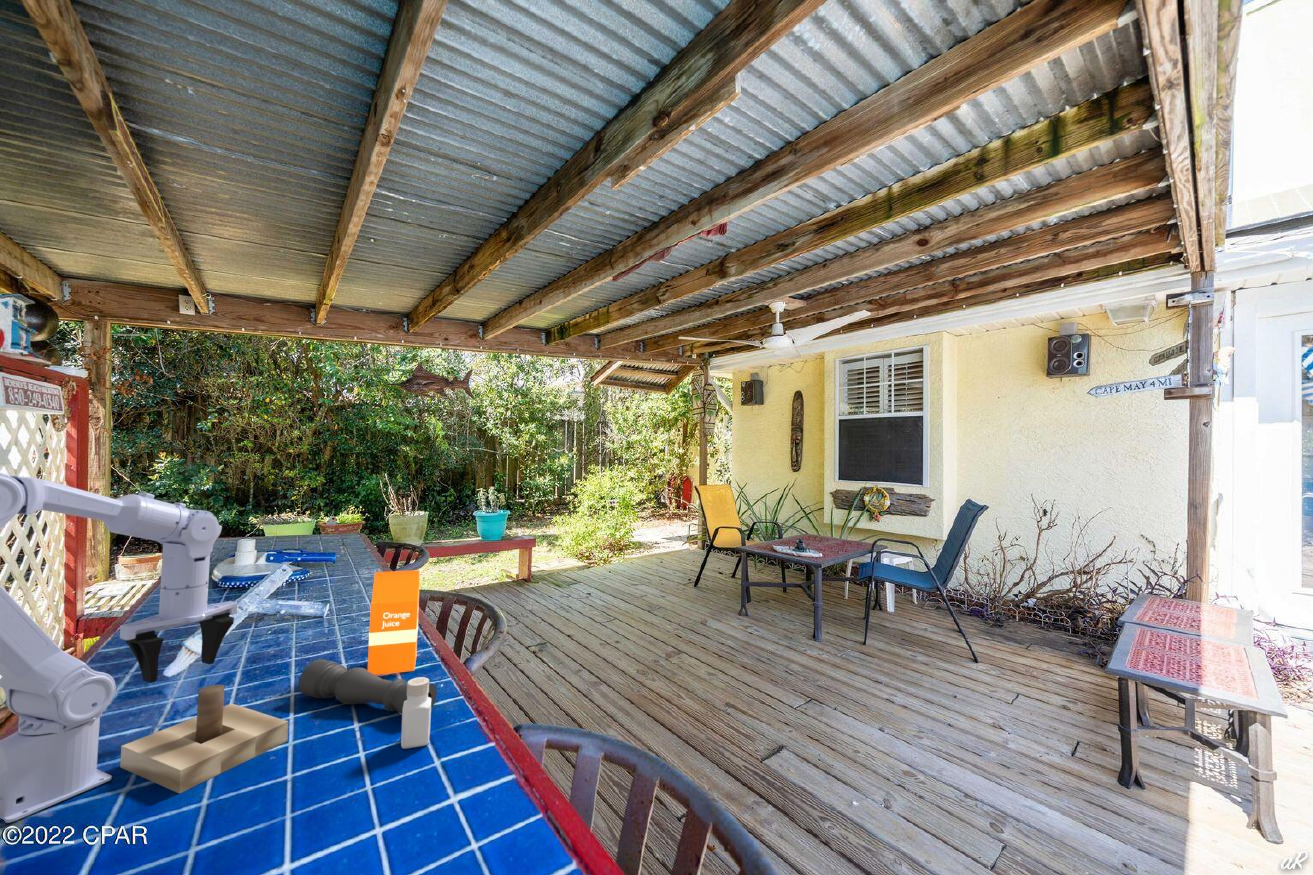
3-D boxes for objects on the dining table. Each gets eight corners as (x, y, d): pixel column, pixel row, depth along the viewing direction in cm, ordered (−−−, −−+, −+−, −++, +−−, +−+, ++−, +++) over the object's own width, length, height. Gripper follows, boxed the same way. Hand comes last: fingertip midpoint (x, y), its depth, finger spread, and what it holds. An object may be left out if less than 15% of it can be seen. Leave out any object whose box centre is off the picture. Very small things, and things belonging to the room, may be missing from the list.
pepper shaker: (402, 737, 85) (405, 677, 85) (429, 733, 86) (432, 674, 86) (400, 750, 81) (403, 688, 81) (428, 746, 82) (431, 684, 82)
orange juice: (414, 670, 110) (419, 574, 110) (366, 676, 107) (371, 576, 107) (416, 656, 117) (420, 566, 118) (371, 661, 114) (376, 568, 114)
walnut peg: (202, 761, 77) (206, 695, 77) (189, 756, 78) (193, 691, 78) (225, 750, 79) (229, 686, 80) (213, 746, 80) (216, 683, 81)
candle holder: (303, 661, 96) (416, 685, 89) (331, 656, 102) (440, 678, 95) (294, 698, 95) (409, 725, 88) (324, 691, 100) (434, 715, 93)
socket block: (179, 793, 69) (180, 770, 70) (120, 767, 75) (121, 745, 75) (287, 740, 82) (288, 721, 83) (230, 721, 88) (231, 703, 88)
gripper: (141, 599, 76) (135, 695, 75) (250, 578, 89) (246, 659, 89) (114, 593, 78) (108, 685, 78) (224, 573, 92) (219, 652, 91)
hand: (180, 671), depth 83 cm, fingers open, 7 cm apart
